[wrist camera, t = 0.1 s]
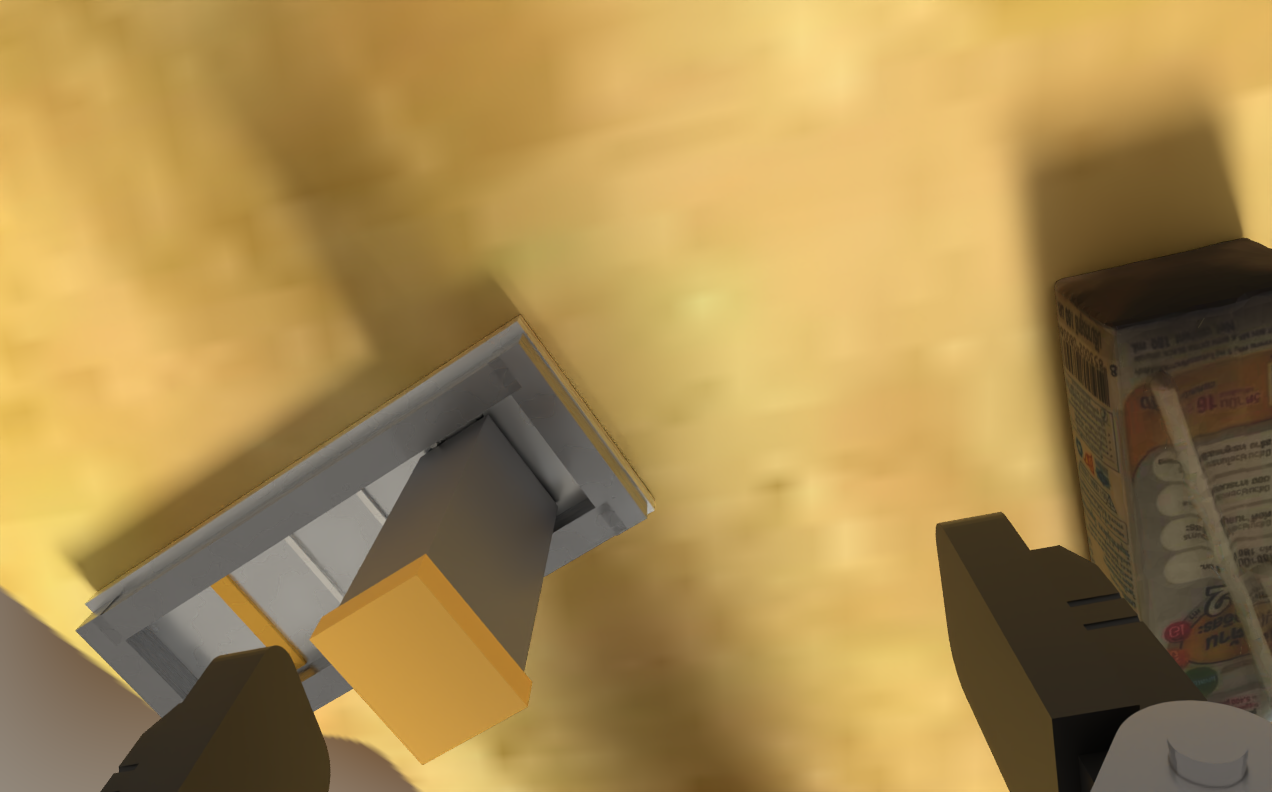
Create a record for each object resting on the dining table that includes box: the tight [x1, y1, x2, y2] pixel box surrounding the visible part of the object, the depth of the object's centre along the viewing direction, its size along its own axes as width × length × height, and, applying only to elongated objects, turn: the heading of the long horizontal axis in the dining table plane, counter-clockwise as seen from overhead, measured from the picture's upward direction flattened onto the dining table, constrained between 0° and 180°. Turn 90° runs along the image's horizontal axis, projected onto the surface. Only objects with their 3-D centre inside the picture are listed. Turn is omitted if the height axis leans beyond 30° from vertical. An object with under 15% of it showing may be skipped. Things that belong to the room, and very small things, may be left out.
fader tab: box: [309, 415, 558, 765], centre depth 36 cm, size 4×5×13 cm
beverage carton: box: [1055, 238, 1272, 722], centre depth 40 cm, size 8×19×7 cm, turn 15°
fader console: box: [75, 315, 655, 718], centre depth 43 cm, size 24×10×2 cm, turn 124°
